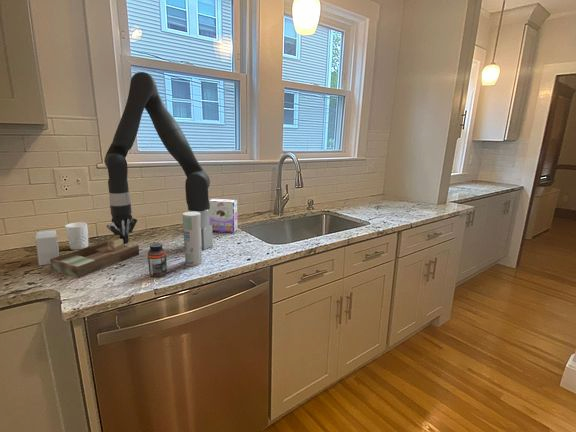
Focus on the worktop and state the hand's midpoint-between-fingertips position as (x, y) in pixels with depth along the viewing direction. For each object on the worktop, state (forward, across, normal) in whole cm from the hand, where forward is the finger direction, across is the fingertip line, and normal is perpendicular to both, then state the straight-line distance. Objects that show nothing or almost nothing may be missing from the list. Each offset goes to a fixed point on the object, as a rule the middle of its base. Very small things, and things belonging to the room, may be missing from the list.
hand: (124, 243), depth 132 cm
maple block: (+1, -4, 0) cm, 4 cm away
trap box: (+4, -12, 0) cm, 13 cm away
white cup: (+4, -6, +21) cm, 22 cm away
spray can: (+4, +4, -33) cm, 33 cm away
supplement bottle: (+4, -10, -29) cm, 30 cm away
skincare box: (+4, -20, +17) cm, 27 cm away
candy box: (+4, +45, -17) cm, 48 cm away
